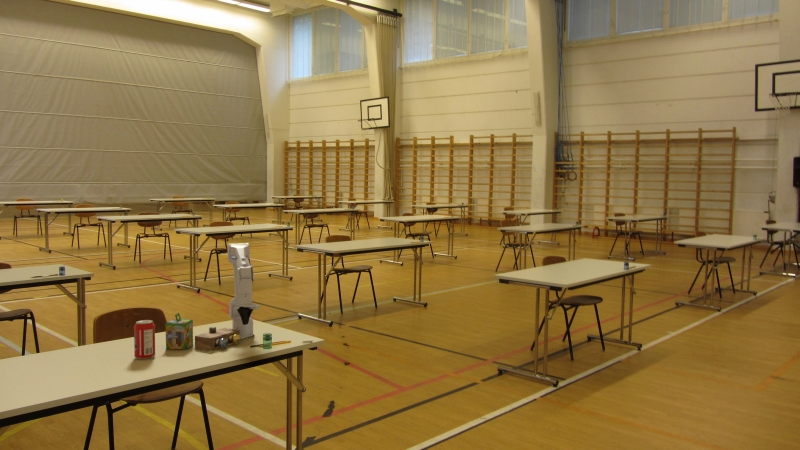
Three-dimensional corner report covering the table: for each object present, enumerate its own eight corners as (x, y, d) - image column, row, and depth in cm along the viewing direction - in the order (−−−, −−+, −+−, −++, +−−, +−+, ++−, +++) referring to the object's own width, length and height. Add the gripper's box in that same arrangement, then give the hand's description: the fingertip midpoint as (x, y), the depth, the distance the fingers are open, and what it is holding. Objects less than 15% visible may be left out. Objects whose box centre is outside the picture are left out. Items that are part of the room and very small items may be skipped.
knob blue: (209, 343, 270) (209, 334, 270) (227, 346, 265) (227, 337, 265) (202, 345, 267) (202, 336, 266) (221, 348, 261) (221, 339, 261)
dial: (212, 331, 274) (212, 326, 273) (217, 331, 272) (217, 327, 272) (207, 332, 271) (207, 327, 271) (212, 333, 269) (212, 328, 269)
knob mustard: (222, 339, 277) (222, 331, 277) (240, 342, 272) (240, 334, 272) (216, 341, 274) (216, 332, 273) (234, 344, 268) (234, 335, 268)
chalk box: (186, 350, 261) (185, 315, 261) (165, 349, 262) (164, 315, 261) (194, 344, 271) (193, 311, 270) (173, 344, 271) (173, 311, 270)
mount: (224, 339, 280) (224, 327, 280) (239, 341, 276) (239, 330, 276) (194, 348, 265) (194, 335, 264) (210, 350, 260) (210, 338, 260)
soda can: (147, 360, 244) (147, 324, 243) (130, 359, 246) (129, 322, 245) (159, 355, 252) (158, 319, 251) (142, 354, 253) (141, 318, 253)
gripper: (226, 293, 267) (226, 324, 267) (251, 296, 260) (251, 328, 261) (237, 291, 273) (237, 321, 274) (262, 294, 266) (262, 324, 267)
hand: (245, 324), depth 268 cm, fingers closed
